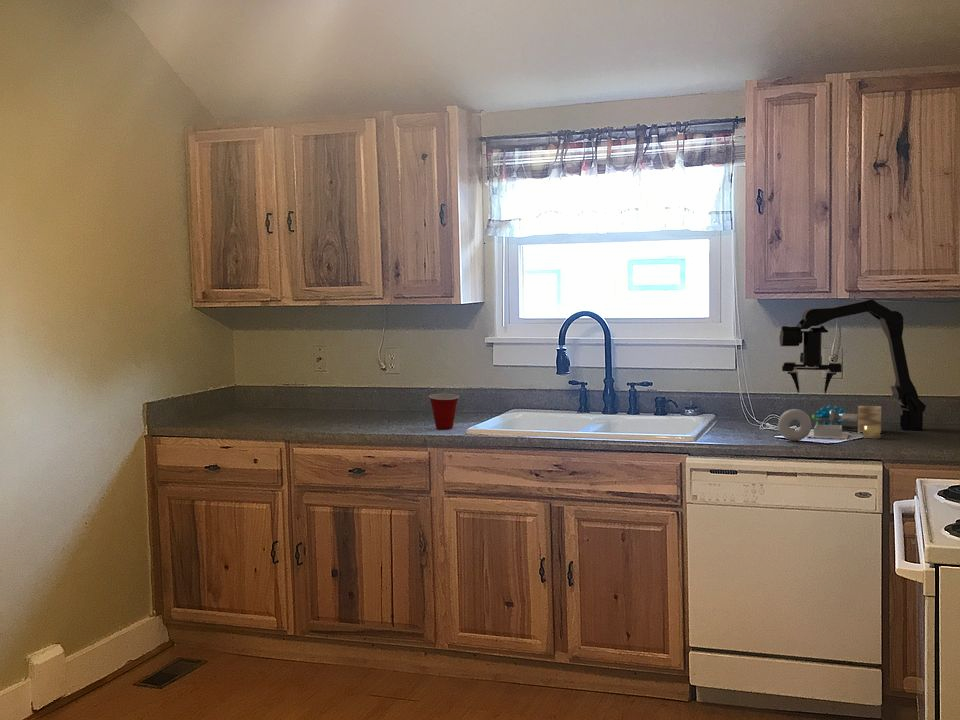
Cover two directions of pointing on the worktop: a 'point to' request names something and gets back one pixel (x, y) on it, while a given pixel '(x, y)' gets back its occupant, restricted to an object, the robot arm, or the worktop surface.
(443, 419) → the plastic cup
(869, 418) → the bearing block
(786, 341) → the robot arm
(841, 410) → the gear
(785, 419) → the donut
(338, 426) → the worktop surface
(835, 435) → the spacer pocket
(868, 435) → the cylinder
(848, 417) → the shaft
